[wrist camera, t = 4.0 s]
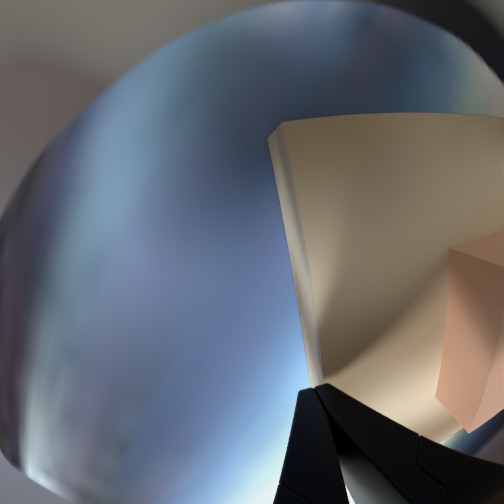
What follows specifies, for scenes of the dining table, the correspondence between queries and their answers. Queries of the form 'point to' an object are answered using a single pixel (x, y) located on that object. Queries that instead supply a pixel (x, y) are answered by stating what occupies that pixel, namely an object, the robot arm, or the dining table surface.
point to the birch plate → (384, 246)
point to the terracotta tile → (474, 332)
